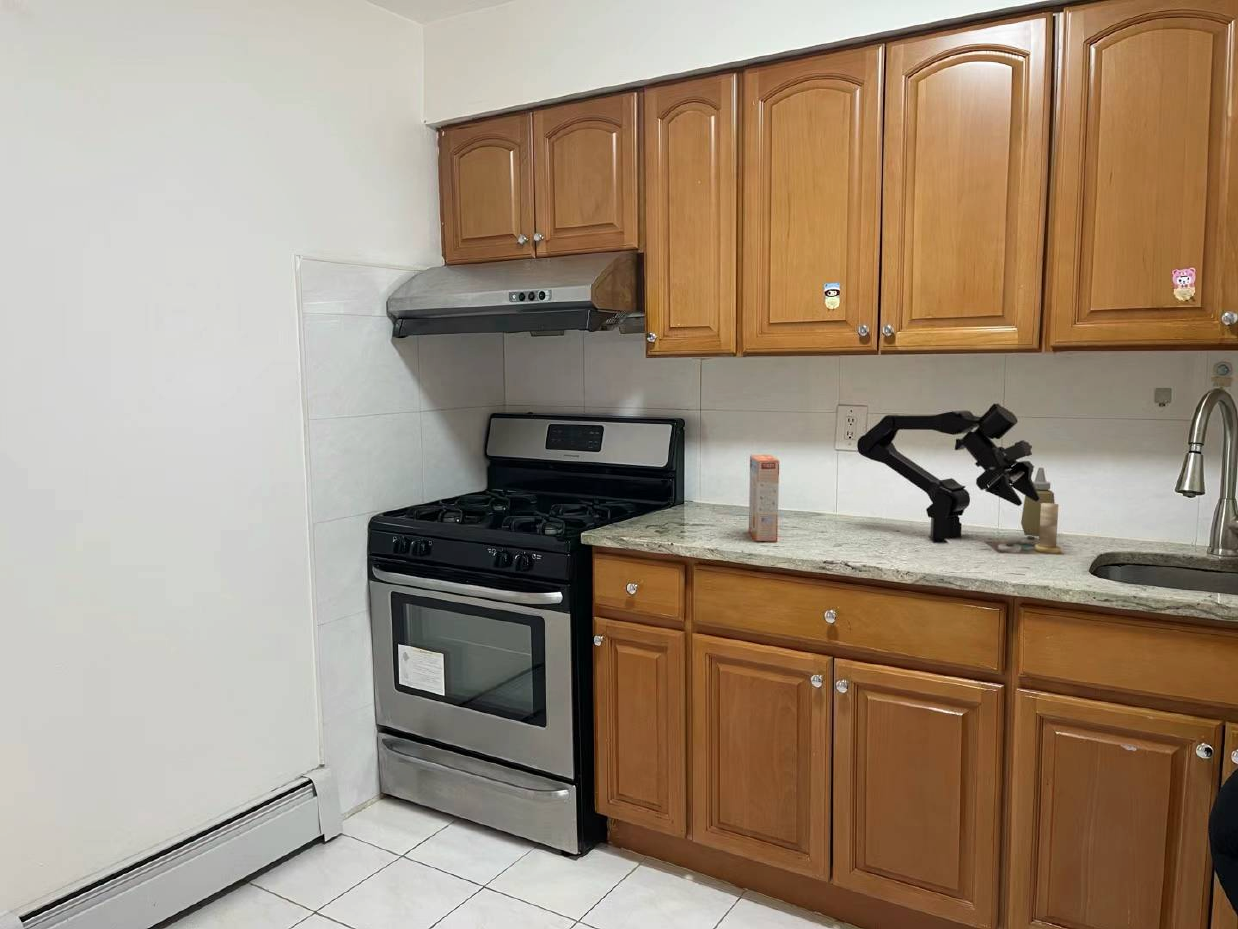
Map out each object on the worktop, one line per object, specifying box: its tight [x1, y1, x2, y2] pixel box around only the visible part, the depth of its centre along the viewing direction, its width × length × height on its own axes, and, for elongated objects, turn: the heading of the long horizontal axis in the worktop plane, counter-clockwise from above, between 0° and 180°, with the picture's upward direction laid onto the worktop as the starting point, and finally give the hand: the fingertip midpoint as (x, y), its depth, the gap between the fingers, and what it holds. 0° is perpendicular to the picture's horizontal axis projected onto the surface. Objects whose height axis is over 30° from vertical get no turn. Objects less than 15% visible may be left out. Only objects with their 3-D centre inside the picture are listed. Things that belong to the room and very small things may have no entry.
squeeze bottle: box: [1020, 467, 1056, 537], centre depth 225 cm, size 8×8×18 cm
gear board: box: [983, 535, 1065, 556], centre depth 209 cm, size 14×14×3 cm
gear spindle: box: [1035, 503, 1061, 555], centre depth 204 cm, size 5×5×11 cm
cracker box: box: [748, 454, 780, 543], centre depth 229 cm, size 14×6×21 cm, turn 179°
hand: (1029, 502), depth 206 cm, fingers open, 9 cm apart
